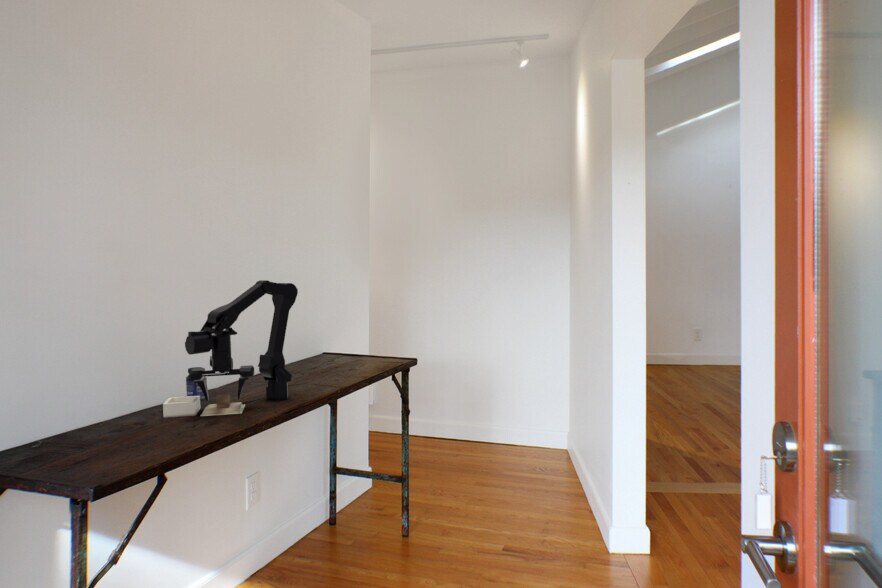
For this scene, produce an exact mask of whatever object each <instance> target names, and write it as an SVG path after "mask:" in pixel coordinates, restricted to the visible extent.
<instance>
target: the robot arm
mask: <svg viewBox="0 0 882 588" xmlns="http://www.w3.org/2000/svg"><path fill="white" fill-rule="evenodd" d="M298 291H299V290H298V288H297V286H296V285H295V283H292V282H290V283H289V282H273V281H269V280H267V279H266V280H264V279H263V280H258V281H256V282H255V284H253V285H252V286H250V287H249V288H248V289H246V290H245V291H244V292H243V293H241V294H240V295H238V296H237V297H236V298H235V299H233V300H232V301H230V302H229V303H227V304H224V305H222V306H218V307H216V308H214V309H213V310H211V311H210V312H209V313H208V314H207V320H206V321H205V322H204V324H203V326H202V327H201V329H200V330H198V331H191V330H190V331H188V334H187V336H186V338H185V342H184V348H185V352H186V353H187V354H188V355H189V356H191V355H198V354H204V353H205V354H206V353H209V352H211V356H210V357H209V366H210V367H211V368H212V370H211V369H210V370H206V368H205V367H202V368H194V369H192V370H191V371H190V372H189V373H188V375H189V380H194V383H197V384H198V385H199V387H200V388H201V390H202V392H203V394H204V396H205V398H206V399H205V401H206V402H209V401H210V400H209V399H210V396H209V388H208V382H207V381H208V379H207V377H217V376H218V377H220V376H222V377H223V376H235V375H239V377H238V384H237V385H238V387H237V399H238V400H240V398H241V394H242V392H243V387H244V385H245V382H246V381H247V380H250V378H251V377H254V375H255V367H254V366H253V365H251V364H250V365H241V366H240V367H239V368H234V361H233V358H232V340H231V338H232V337H231V336H235V335H238V332H237V331H235V330H234V328H232V326H233V325H234V323H236V321H237V320H238V318H239V316H240V314H242V313H243V312H244V311H245V310H247V309H248V308H249V307H250V306H252V305H253V304H254V303H256V302H257V301H258V300H260V299H261V298H262V297H263V296H265V295H266V294H267V295H271V301H272V304H273V306H274V307H273V308H274V311H273V315H272V322H271V328H270V332H269V333H270V334H269V341H268V346H267V350H266V352H265V353H264V354H260V355H259V360H258V361H259V362H258V365H257V367H258V371H259V373H260V375H261V376H262V378H263V381H266V382H267V385H266V386H265V391H266V392H265V395H266V398H265V399H266V400H267V402H274V401H277V402H278V401H287V400H289V394H288V393H289V391H288V389H289V388H288V383H289V382H291V381H292V377H293V375H292V374H291V373H290V372H289V370H287V369H286V359H285V357H284V352H283V351H284V346H285V339H286V334H287V333H286V332H287V326H288V321H289V320H288V319H289V315H290V310H291V308H293V306H294V305H295V303H296V300H297V296H298V294H299V293H298Z"/></svg>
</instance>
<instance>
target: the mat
mask: <svg viewBox="0 0 882 588" xmlns="http://www.w3.org/2000/svg"><path fill="white" fill-rule="evenodd" d="M207 407H208V406H206V407H204V409H203V411H202V413H201V414H200V417H209V416H225V415H236V414H237V415H238V414H242V413H243V411H244V410H245V407H246V404H243V403H242V406H241V409H240V411H239V413H227V414H213V415H204V411H205V409H206V408H207Z"/></svg>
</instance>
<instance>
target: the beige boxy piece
mask: <svg viewBox="0 0 882 588" xmlns="http://www.w3.org/2000/svg"><path fill="white" fill-rule="evenodd" d="M162 410H163V411H162V412H163V418H179V417H190V416H191V417H194V416H197V414H198V413H199V411H200V410H201V401H200V396H187V395H186V396H174V397H169V398H167V399H166V400H165V401H164V402H163V404H162Z"/></svg>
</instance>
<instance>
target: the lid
mask: <svg viewBox="0 0 882 588" xmlns="http://www.w3.org/2000/svg"><path fill="white" fill-rule="evenodd" d="M230 397H231V395H230V394H227V393H226V394H217V395H216V398H215V400H216V401H215V403H212V404H211V403H209V404H208V405H207V406H206V407H207V408H206V407H205V408H206V409H205V408H204V410H205V411H204V410H203V411H204V415H212V416H214V415H213V414H226V415H228V414H227V413H239V411H240V409H241V406H242V405H243V402H241V401H239V402H231V398H230Z"/></svg>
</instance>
